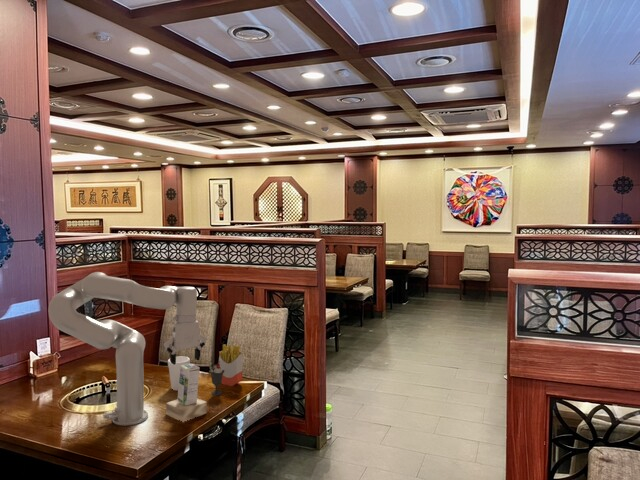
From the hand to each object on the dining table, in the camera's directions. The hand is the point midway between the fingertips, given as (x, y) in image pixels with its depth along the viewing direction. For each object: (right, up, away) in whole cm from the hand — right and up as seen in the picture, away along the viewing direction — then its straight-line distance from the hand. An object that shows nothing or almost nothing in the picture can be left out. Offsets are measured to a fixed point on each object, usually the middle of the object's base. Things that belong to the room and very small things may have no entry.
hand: (185, 361), depth 184 cm
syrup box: (+1, -16, +1) cm, 16 cm away
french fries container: (+11, -20, +34) cm, 41 cm away
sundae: (+7, -20, +23) cm, 31 cm away
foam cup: (-11, -19, +28) cm, 36 cm away
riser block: (0, -21, +1) cm, 22 cm away
